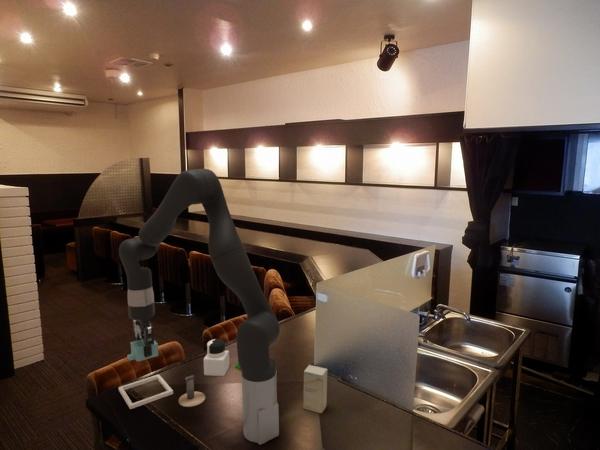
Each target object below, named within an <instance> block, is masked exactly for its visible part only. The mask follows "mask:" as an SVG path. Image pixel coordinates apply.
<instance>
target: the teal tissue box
mask: <svg viewBox="0 0 600 450" xmlns="http://www.w3.org/2000/svg"><path fill="white" fill-rule="evenodd" d="M147 341H149V339H148V340H147ZM129 343H130V350H131V351H130V352H131V353H130V354H127V360H128V361H129V362H130V361H132V360H135V361H136V362H141V361H145V360H147V359H148V360H149V359H151V358H152V359H153V358H154V357H159V343H158V342H157V341H156V340H155V339H154V344H153V345H151V347H152V355H151V356H149V357H145V356H144V348H143V341H142V339H141V340H137V339H136V340H134V341H130V342H129Z"/></svg>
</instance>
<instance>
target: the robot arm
mask: <svg viewBox="0 0 600 450" xmlns="http://www.w3.org/2000/svg"><path fill="white" fill-rule="evenodd" d="M200 204H201V206H202V207H203V210H204V212H205V214H206V217H207V221H208V226H209V228H208V229H209V230H208V232H209V233H208V256H209V258H210V260H211V262H212V265H213V267H214V269H215V273H216V274H217V276H218V278H219V279H220V281H221V282H222V283H223V284H224V285H226V287H227V288H228V289H229V290H231V291H232V292H233V293H234V295H236V297H237V298H238V299H239V300H240V302H241V304H242V307H243V309H244V311H245V314H246V317H247V318H246V319H245V320H244V321H242V322H241V323H240V324H239V326H238V328H237V330H236V351H237V363H238V364H239V366H240V368H241V370H242V372H241V387H242V388H241V392H242V393H241V395H242V397H241V398H242V423H243V425H242V428H243V436H244V438H245V439H246V440H247V441H249V442H252V443H257V444H258V445H259V446H262V444H266V443H267V442H268V441H270V440H272V439H275V438H276V437H279V436H280V426H279V424H280V420H279V419H280V418H279V416H280V415H279V414H280V413H279V409H280V408H279V402H278V400H277V394H278V393H277V374H276V368H277V364H276V362H275V360H274V359H273V358H272V357H270V347H271V345H273V344H274V342H275V341H277V339H278V338H279V336H280V332H281V331H280V330H281V327H280V323H279V320H278V318H277V315H276V314H275V311H274V310H273V308H272V307H271V305H270V303H269V301H268V299H267V297H266V296H265V294H264V292H263V289H262V287H261V285H260V283H259V281H258V278H257V275H256V273H255V271H254V269H253V266H252V263H251V262H250V258H249V256H248V254H247V251H246V249H245V247H244V244H243V243H242V240H241V238H240V236H239V234H238V230H237V228H236V226H235V223H234V221H233V218H232V216H231V213H230V210H229V205H228V204H227V200H226V197H225V194H224V191H223V188H222V184H221V182H220V179H219V178H218V176H217V175H216V173H215V172H214V171H213V170H211V169H208V168H196V169H195V168H194V169H188V170H183V171H182V172H180V173H179V174H177V176H176V178H175V179H174V180H173V182H172V184H171V185H170V187H169V189H168V191H167V192H166V194H165V196H164V198H163V199H162V201H161V203H160V204H159V206H158V208H156V210H155V211H154V213H153V214H152V215H151V216H150V217H149V218H148V220H146V221H145V223H144V224H143V225H142V226H141V227H140V229H139V231H138V237H134V238H128V239H125V240H123V241H122V242H121V243H120V245H119V248H118V255H119V256H118V257H119V259H120V261H121V263H122V266H123V269H124V271H125V275H126V281H127V284H126V285H127V307H128V308H127V310H128V318H129V319H131V320H132V327H133V328H132V329H133V335H135V339H136V341H137V340H141V339H142V341H143V348H144V356H145V357H149V356H151V355H152V347H151V345H153V344H154V340H155V327H154V325H152V323H151V321H150V319H151V318H152V317H154V316H155V313H156V312H155V309H156V308H155V293H154V289H153V275H152V270H151V268H149V267H146V266H145V267H144V266H140V263H139V261H144V260H148V259H151V258H152V257H153V256H155V254H156V253H157V252H158V250H159V248H160V245H161V244H162V242H163V241H164V240H165V239H166V238H167V237H168V236H169V235H170V234H171V232H172V231H173V230H174V228H175V226H176V223H177V218H178V216H179V215H180V214H181V213H182V212H184V211H185V210H186V209H187V208H189V207H190V206H193V205H200ZM148 339H149V341H147V340H148Z"/></svg>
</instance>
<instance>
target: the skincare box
mask: <svg viewBox="0 0 600 450" xmlns="http://www.w3.org/2000/svg"><path fill="white" fill-rule="evenodd" d="M327 391H328V368H325V367H321V366H316V365H312V364H308V366H307V367H306V368H304V371H303V401H302V402H303V403H302V404H303V407H302V408H303V409H304V410H308V411H311V412H314V413H319V414H323V412H324V411H325V409H326V408H327V397H328V394H327V393H328V392H327Z"/></svg>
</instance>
